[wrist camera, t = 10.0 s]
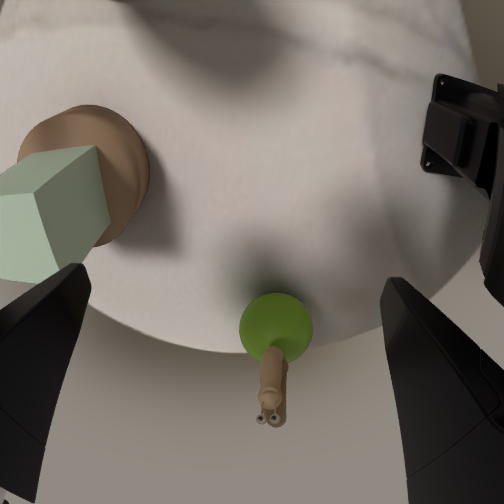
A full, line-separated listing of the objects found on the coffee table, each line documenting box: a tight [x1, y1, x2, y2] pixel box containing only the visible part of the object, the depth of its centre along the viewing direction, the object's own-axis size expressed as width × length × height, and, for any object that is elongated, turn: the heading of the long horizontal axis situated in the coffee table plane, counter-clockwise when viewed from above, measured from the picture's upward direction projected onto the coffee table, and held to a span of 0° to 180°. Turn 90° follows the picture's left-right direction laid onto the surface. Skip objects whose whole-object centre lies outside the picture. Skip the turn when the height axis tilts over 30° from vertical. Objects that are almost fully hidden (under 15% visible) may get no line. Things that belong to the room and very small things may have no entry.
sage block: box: [0, 145, 111, 284], centre depth 15 cm, size 5×5×6 cm
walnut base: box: [17, 105, 150, 247], centre depth 18 cm, size 9×9×3 cm
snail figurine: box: [239, 293, 313, 427], centre depth 21 cm, size 5×6×12 cm
